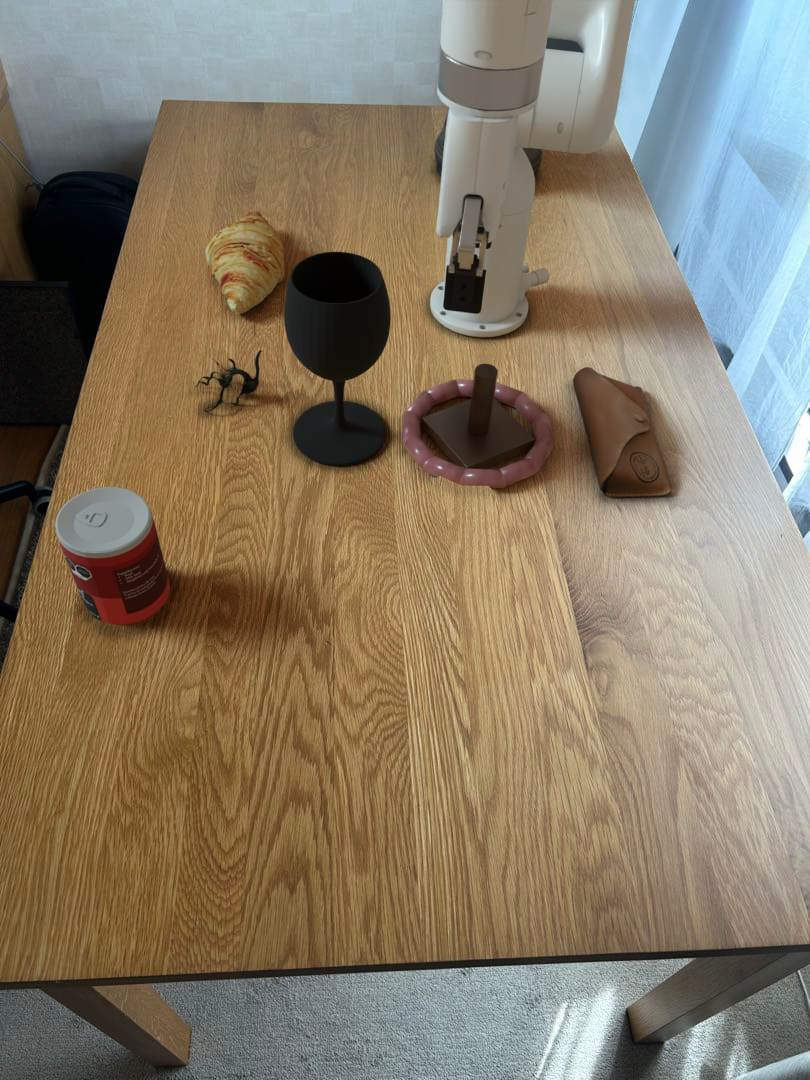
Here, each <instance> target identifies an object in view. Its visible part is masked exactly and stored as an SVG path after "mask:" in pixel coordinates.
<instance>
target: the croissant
mask: <svg viewBox="0 0 810 1080" xmlns="http://www.w3.org/2000/svg"><path fill="white" fill-rule="evenodd" d="M204 250H205V251H204V255H205V256H204V257H205V259H206V264H207V265H208V266H209V267H210V269H211V270H210V271H211V276H212V278H213V279H214V280H215V281H217V283H218V284H219V286H220V291H221V293H222V296H224V297H225V298H226V300H227V306H228V307H229V309H230V311H231V313H234V314H237V315H238V314H239V315H241V314H243V313H247V312H248V311H250V310H251V309H252V308H254V307H255V306H256V307H257V305H259V304H261V302H263V301H264V299H265V298H266V297H268V296H269V295H270V294H271V293H272V292H273V291H274V289H275V288H276V286H277V285H278V284H280V283H281V282H282V281H283V280H284V277H285V254H284V245H283V242H282V239H281V237H280V234H279V232H278V231H277V229H275V228H274V227H273V226H272V224H270V223H269V222H268V220H267V219H266V218H265V217H264V216H262V214H261V213H260V212H259V211H249V212H248V213H247V214H246V215H245V216H244V217H242V218H241V219H240V220H239V221H237V222H233V223H231V224H228V225H227V226H225V227H224V228H222V229H220V230H219V231H218V232H217V234H215V235H213V237H212V238H211V240H210V241H209V243H208V244H207V245H206V247H205V249H204Z"/></svg>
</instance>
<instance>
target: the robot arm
mask: <svg viewBox="0 0 810 1080" xmlns="http://www.w3.org/2000/svg"><path fill="white" fill-rule="evenodd" d="M635 2H636V0H442V7H441V9H442V10H441V23H440V24H441V25H440V38H439V39H440V40H439V55H438V69H437V86H436V87H437V88H436V95H437V97H438V99H439V101H440V102H441V103H442V104H443V105H445V106H446V107H447V108H449V111H448V110H447V112H448V118H447V125H446V133H445V142H444V152H443V163H442V175H441V177H440V187H439V199H438V207H437V209H438V211H437V218H436V228H435V233H436V235H437V236H438V237H439V238H440V239H443V238H447V242H446V252H445V253H446V254H445V265H444V266H445V268H444V277H443V281H441V282H439V283H438V284H437V285H436V286H435V287H434V289H433V290H432V292H431V294H430V299H429V300H430V301H429V308H430V312H431V314H432V316H433V317H434V318H435V320H436V321H437V322H438V323H439V324H440V325H442V326H444V327H445V328H446V329H449V330H450V331H452V332H455V333H458V334H460V335H464V336H469V337H475V338H492V337H493V338H494V337H500V336H503V335H506V334H510V333H511V332H514V331H516V330H517V329H518V328H520V327H521V326H522V325H523V324H524V323H525V321H526V318H527V317H528V312H529V301H528V298H527V296H526V295H525V294H526V293H527V292H530V291H531V288H532V287H538V286H541V285H543V284H547V283H548V282H549V281H550V273H549V271H548V270H547V268H546V267H541V268H538V269H535V270H532V271H530V266H529V265H528V263H526V262H524V261H525V254H526V248H527V244H528V243H527V242H528V236H529V230H530V225H531V224H530V223H531V217H532V212H533V211H532V210H533V205H534V200H535V199H534V198H535V192H536V178H535V177H534V172H533V169H532V166H531V164H530V161H529V159H528V157H527V155H526V154H525V152H524V150H523V148H536V149H542V150H545V151H553V152H560V153H562V152H563V153H572V154H592V153H595V152H598V151H600V150H601V149H602V148H603V147H604V146H605V145H606V144H607V142H608V141H609V138H610V136H611V134H612V130H613V128H614V125H615V122H616V121H615V120H616V116H617V111H618V106H619V100H620V94H621V88H622V82H623V77H624V76H623V75H624V70H625V64H626V57H627V53H628V47H629V40H630V33H631V29H632V21H633V16H634V10H635V4H636V3H635ZM548 39H553V40H555V39H556V40H563V41H571V42H575V43H577V44H578V45H579V47H580V48H581V51H582V52H580V51H579V52H578V51H571V50H561V49H554V48H553V49H552V48H547V42H548Z"/></svg>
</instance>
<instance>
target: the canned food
mask: <svg viewBox="0 0 810 1080" xmlns="http://www.w3.org/2000/svg"><path fill="white" fill-rule="evenodd" d="M54 527H55V532H56V537H57V539H58V542H59V545H60V549H61V551H62V553H63V556H64V559H65V561H66V563H67V566H68V568H69V571H70V574H71V576H72V578H73V581H74V583H75V586H76V588H77V591H78V593H79V596H80V598H81V601H82V603H83V606H84V608H85V610H86V611H87V612H88V614H89V615H90V616H91V617H92V618H94V620H98V621H100V622H102V623H106V624H110V625H117V626H119V625H121V626H122V625H130V624H135V623H139V622H141V621H144V620H146V619H148V618H150V617H152V616H154V615H155V614H156V613H158V611H159V610H160V609H161V608H162V607H164V605H165V604H166V602H167V600H168V599H169V595H170V591H171V583H170V579H169V575H168V571H167V567H166V563H165V559H164V554H163V551H162V547H161V543H160V539H159V534H158V531H157V527H156V523H155V519H154V516H153V513H152V510H151V508H150V506H149V503H148V502H147V501H146V499H144V497H143V496H141V495H140V494H139V493H137V492H134V491H132V490H130V489H127V488H124V487H115V486H102V487H97V488H92V489H89V490H85V491H83V492H80V493H78V494H76V495H75V496H73V497H72V498H70V499H69V500H68V501H67V502H66V503H65V504H64V505H63V506H62V507H61V508H60V509H59V511H58V513H57V515H56V518H55V523H54Z"/></svg>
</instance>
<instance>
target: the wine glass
mask: <svg viewBox="0 0 810 1080" xmlns="http://www.w3.org/2000/svg"><path fill="white" fill-rule="evenodd" d="M391 319H392V318H391V303H390V297H389V293H388V289H387V285H386V282H385V279H384V276H383V273H382V271H381V269H380V267H379V266H378V265H377V264H376V263H375V262H373V260H371V259H369V258H367V257H365V256H362V255H360V254H356V253H352V252H346V251H326V252H320V253H316V254H313V255H310V256H308V257H306V258H303V259H302V260H300V261H299V262H297V264H295V266H294V267H293V269H292V270H291V273H290V276H289V279H288V283H287V288H286V291H285V297H284V304H283V323H284V330H285V334H286V339H287V342H288V345H289V346H290V350H291V351H292V353H293V354H294V356H295V358H296V359H297V361H299V362H300V364H301V365H302V366H303V367H305V369H307V370H308V371H309V372H310V373H312V374H314V375H315V376H317V377H319V378H322V379H324V380H327V381H330V382H332V387H333V394H334V395H333V396H334V400H331V401H330V400H329V401H324V402H321V403H318V404H316V405H313V406H311V407H309V408H308V409H306V410H305V411H303V412H302V413H301V414H300V415H299V417H298V418H297V419H296V421H295V423H294V424H293V429H292V430H293V431H292V437H293V442H294V445H295V447H296V448H297V449H298V451H299V452H300V453H301V454H302V455H303V456H305V458H308V459H309V460H312V461H313V462H316V463H319V464H321V465H325V466H331V467H348V466H355V465H358V464H361V463H364V462H366V461H368V460H369V459H371V458H373V457H375V456H376V455H377V454H378V453H379V452H380V451H381V450H382V448H383V447H384V445H385V442H386V438H387V428H386V424H385V423H384V421H383V419H382V417H381V416H380V415H379V414H378V413H377V412H376V411H375V410H373V409H371V408H370V407H368V406H366V405H364V404H362V403H358V402H354V401H350V400H345V399H344V398H345V397H344V396H345V385H346V382H347V381H351V380H353V379H355V378H358V377H360V376H361V375H363V374H365V373H366V372H367V371H369V370H370V369H371V368H372V367H373V366H374V365H375V364H376V363H377V362H378V360H379V359H380V357H381V356H382V354H383V352H384V350H385V348H386V346H387V344H388V340H389V337H390V331H391Z"/></svg>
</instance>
